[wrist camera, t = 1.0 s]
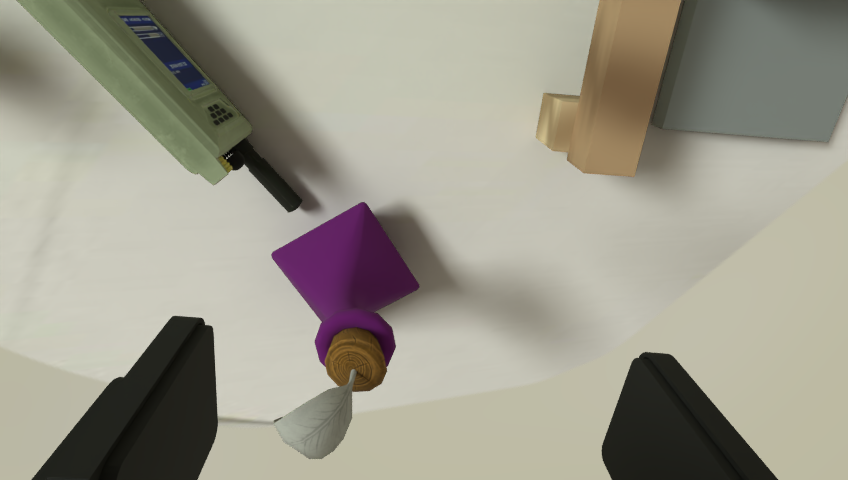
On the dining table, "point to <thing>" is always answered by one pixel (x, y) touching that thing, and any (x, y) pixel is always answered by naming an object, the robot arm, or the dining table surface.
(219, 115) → the handheld radio
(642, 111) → the walnut bar
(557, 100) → the bar rest
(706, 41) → the stand
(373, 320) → the purple potion bottle
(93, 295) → the dining table surface
